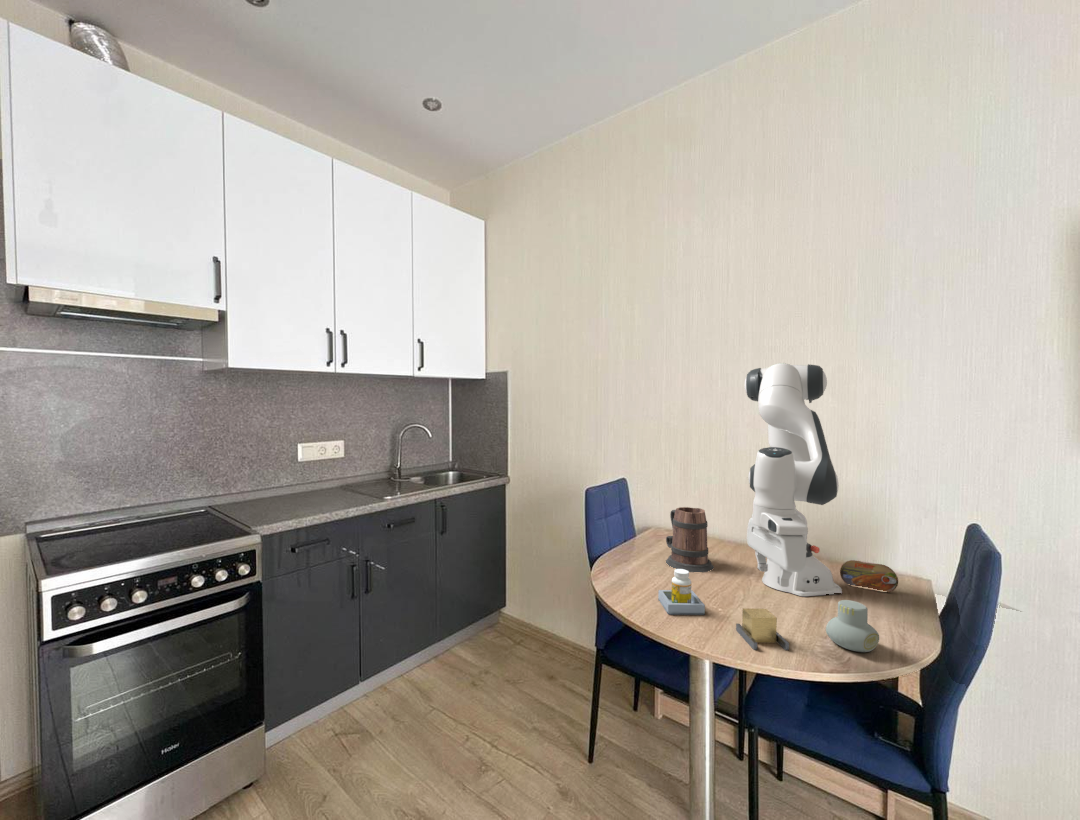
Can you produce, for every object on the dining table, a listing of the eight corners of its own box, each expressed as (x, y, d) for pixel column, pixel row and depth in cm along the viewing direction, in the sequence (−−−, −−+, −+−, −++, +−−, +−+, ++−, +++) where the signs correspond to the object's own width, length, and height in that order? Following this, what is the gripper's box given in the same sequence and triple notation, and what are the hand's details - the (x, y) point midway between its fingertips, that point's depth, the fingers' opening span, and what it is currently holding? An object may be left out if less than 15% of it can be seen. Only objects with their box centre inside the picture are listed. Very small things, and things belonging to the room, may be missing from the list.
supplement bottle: (693, 609, 127) (694, 574, 127) (674, 608, 127) (674, 574, 127) (687, 601, 133) (688, 568, 133) (669, 600, 133) (669, 567, 133)
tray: (692, 600, 135) (692, 590, 135) (704, 616, 125) (704, 605, 125) (658, 600, 135) (658, 589, 135) (668, 615, 125) (668, 604, 125)
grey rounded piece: (846, 633, 116) (847, 594, 116) (883, 648, 109) (884, 606, 109) (821, 643, 111) (821, 602, 111) (858, 660, 104) (858, 616, 104)
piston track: (757, 617, 125) (757, 610, 125) (793, 651, 107) (793, 643, 107) (719, 616, 125) (719, 609, 125) (749, 651, 107) (749, 642, 107)
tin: (839, 584, 149) (840, 559, 149) (839, 581, 152) (840, 556, 152) (898, 595, 141) (898, 568, 141) (897, 592, 144) (897, 565, 144)
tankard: (724, 570, 161) (725, 513, 161) (680, 574, 157) (681, 515, 157) (687, 550, 183) (688, 500, 183) (648, 552, 179) (649, 501, 179)
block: (765, 632, 116) (766, 608, 116) (776, 642, 111) (776, 617, 111) (742, 632, 116) (742, 608, 116) (751, 642, 111) (751, 617, 111)
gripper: (740, 508, 117) (739, 562, 117) (782, 529, 96) (781, 595, 96) (765, 508, 117) (764, 563, 117) (812, 529, 96) (811, 595, 96)
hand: (772, 577), depth 106 cm, fingers open, 8 cm apart
